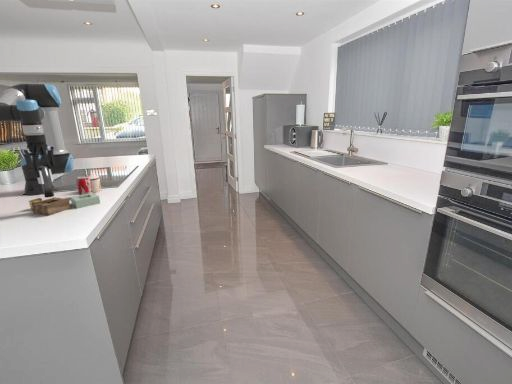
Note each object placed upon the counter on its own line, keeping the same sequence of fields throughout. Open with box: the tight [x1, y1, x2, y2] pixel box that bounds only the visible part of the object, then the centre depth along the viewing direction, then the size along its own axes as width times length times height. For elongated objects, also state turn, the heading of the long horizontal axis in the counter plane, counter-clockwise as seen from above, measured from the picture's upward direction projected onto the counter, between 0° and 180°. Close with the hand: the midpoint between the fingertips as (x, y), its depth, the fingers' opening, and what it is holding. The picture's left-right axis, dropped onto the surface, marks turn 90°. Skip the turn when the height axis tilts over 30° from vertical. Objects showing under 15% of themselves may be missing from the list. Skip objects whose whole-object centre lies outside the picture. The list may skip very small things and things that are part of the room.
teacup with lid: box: [87, 172, 102, 194], centre depth 172 cm, size 12×9×12 cm
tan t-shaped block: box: [28, 197, 49, 210], centre depth 139 cm, size 9×5×4 cm, turn 71°
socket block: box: [32, 196, 72, 216], centre depth 137 cm, size 11×11×5 cm
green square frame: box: [70, 193, 101, 209], centre depth 147 cm, size 11×11×4 cm
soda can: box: [75, 175, 93, 195], centre depth 159 cm, size 7×7×12 cm
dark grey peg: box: [39, 166, 55, 198], centre depth 134 cm, size 4×4×15 cm
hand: (46, 182), depth 134 cm, fingers closed on dark grey peg, 4 cm apart
